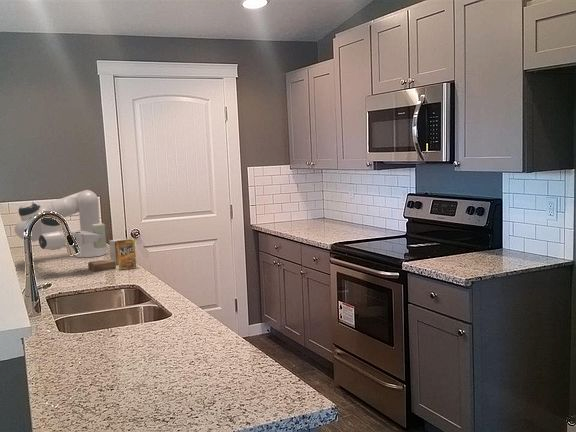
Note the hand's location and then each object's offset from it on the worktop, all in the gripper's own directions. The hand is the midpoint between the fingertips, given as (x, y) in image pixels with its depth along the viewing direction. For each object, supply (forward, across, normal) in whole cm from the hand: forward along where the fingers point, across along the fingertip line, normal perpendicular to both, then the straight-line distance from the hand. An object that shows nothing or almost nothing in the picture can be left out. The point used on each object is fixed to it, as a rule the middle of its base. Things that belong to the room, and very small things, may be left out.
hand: (100, 234), depth 308 cm
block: (-1, 0, -7) cm, 7 cm away
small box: (+12, -8, -18) cm, 23 cm away
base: (-1, 0, -18) cm, 18 cm away
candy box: (+9, +10, -18) cm, 23 cm away
